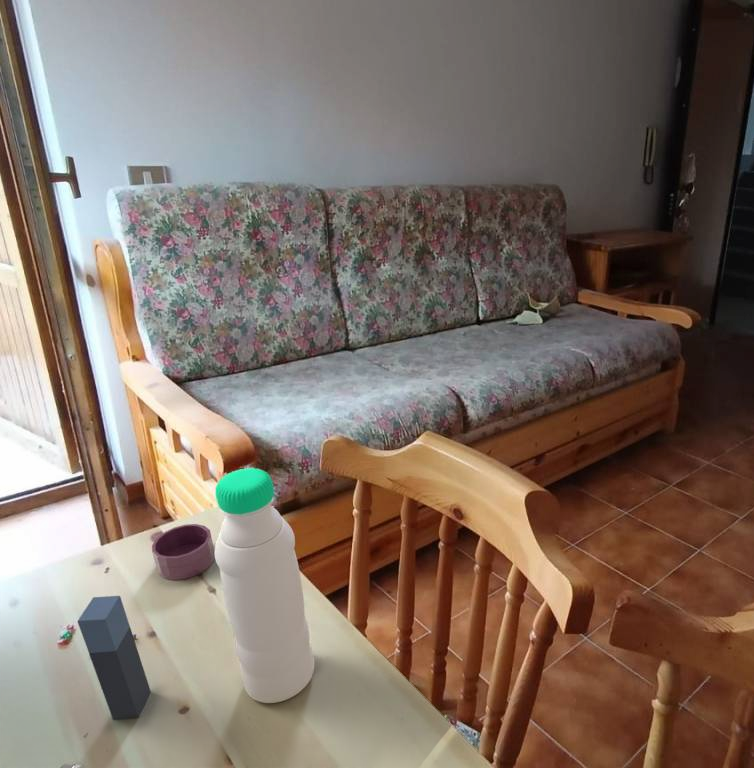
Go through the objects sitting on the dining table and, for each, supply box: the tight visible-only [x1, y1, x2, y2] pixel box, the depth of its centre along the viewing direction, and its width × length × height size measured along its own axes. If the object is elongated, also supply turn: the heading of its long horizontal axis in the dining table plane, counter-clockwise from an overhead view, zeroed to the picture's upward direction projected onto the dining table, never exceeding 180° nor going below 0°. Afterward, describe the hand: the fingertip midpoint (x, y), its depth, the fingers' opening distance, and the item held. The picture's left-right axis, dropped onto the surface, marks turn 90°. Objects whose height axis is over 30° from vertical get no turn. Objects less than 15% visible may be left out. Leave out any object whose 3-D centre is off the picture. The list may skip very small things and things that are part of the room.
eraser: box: [77, 595, 152, 721], centre depth 60 cm, size 2×3×13 cm
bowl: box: [151, 523, 215, 581], centre depth 82 cm, size 7×7×4 cm
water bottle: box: [214, 467, 315, 704], centre depth 61 cm, size 7×7×25 cm
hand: (19, 764), depth 49 cm, fingers open, 8 cm apart
